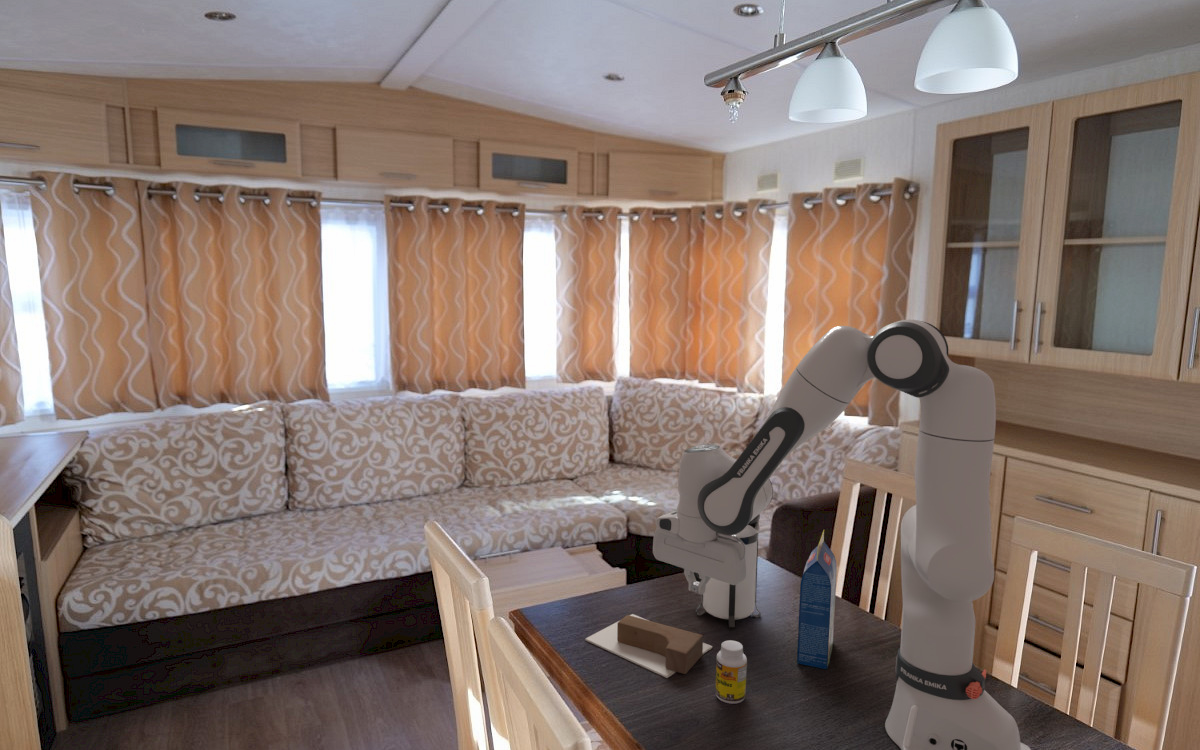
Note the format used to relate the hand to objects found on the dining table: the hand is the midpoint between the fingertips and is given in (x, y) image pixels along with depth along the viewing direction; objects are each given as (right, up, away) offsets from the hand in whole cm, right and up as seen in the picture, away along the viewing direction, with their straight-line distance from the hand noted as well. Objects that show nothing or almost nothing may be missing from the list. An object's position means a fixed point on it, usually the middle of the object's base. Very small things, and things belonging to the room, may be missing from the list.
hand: (696, 591), depth 143 cm
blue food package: (+26, -15, +7) cm, 31 cm away
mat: (-9, -14, +10) cm, 20 cm away
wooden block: (0, -13, +1) cm, 13 cm away
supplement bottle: (+5, -17, -9) cm, 20 cm away
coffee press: (+9, -13, +24) cm, 29 cm away
